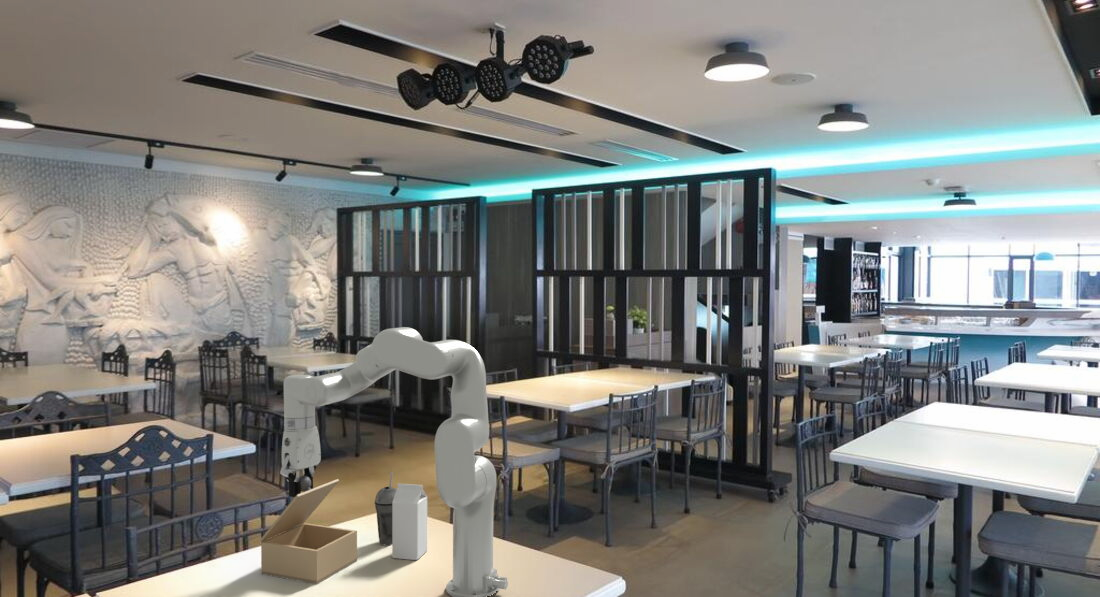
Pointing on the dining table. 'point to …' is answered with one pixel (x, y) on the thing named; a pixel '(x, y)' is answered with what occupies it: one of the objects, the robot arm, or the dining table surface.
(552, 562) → the dining table surface
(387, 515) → the beverage cup
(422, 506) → the milk carton
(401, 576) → the dining table surface
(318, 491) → the flap
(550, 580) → the dining table surface
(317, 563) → the light brown open box
